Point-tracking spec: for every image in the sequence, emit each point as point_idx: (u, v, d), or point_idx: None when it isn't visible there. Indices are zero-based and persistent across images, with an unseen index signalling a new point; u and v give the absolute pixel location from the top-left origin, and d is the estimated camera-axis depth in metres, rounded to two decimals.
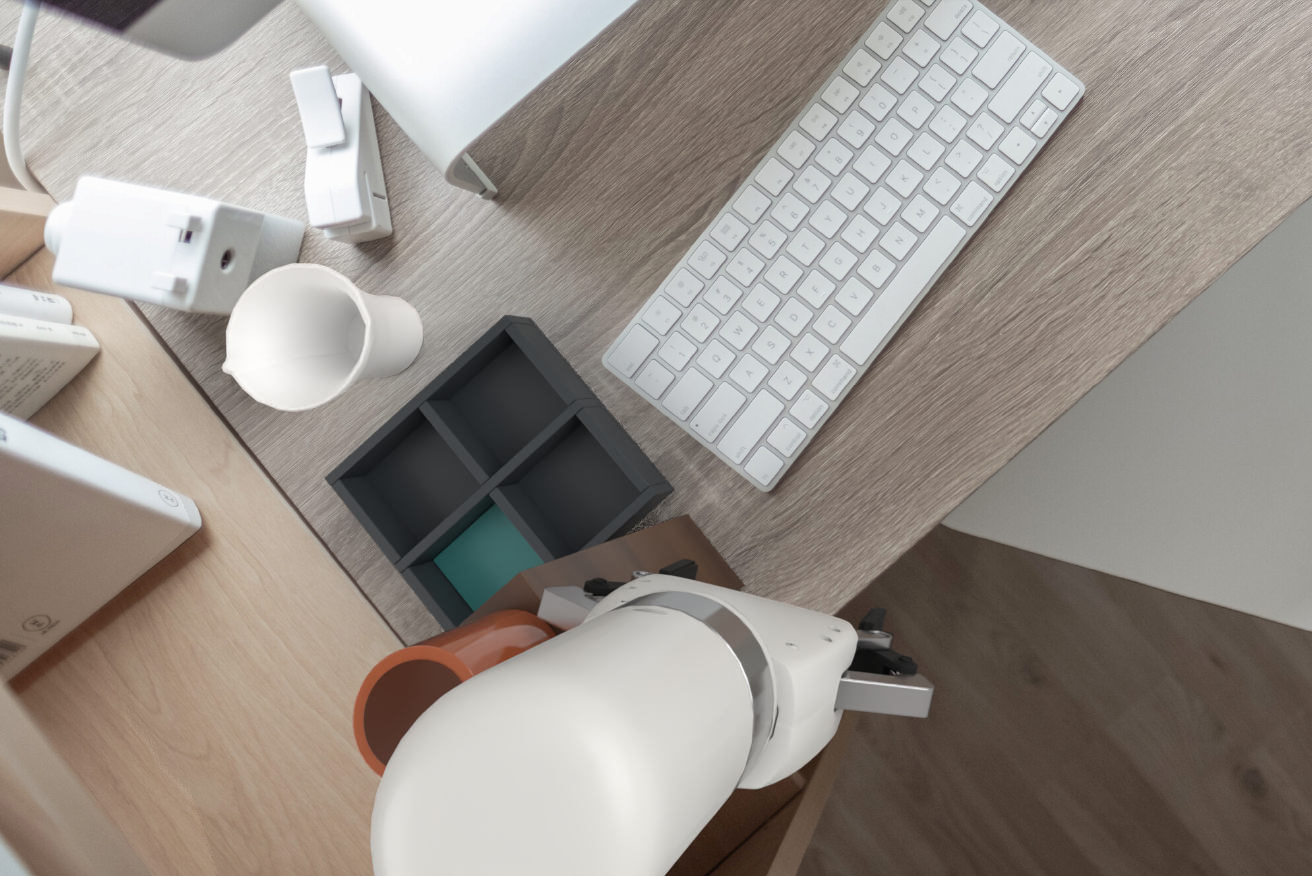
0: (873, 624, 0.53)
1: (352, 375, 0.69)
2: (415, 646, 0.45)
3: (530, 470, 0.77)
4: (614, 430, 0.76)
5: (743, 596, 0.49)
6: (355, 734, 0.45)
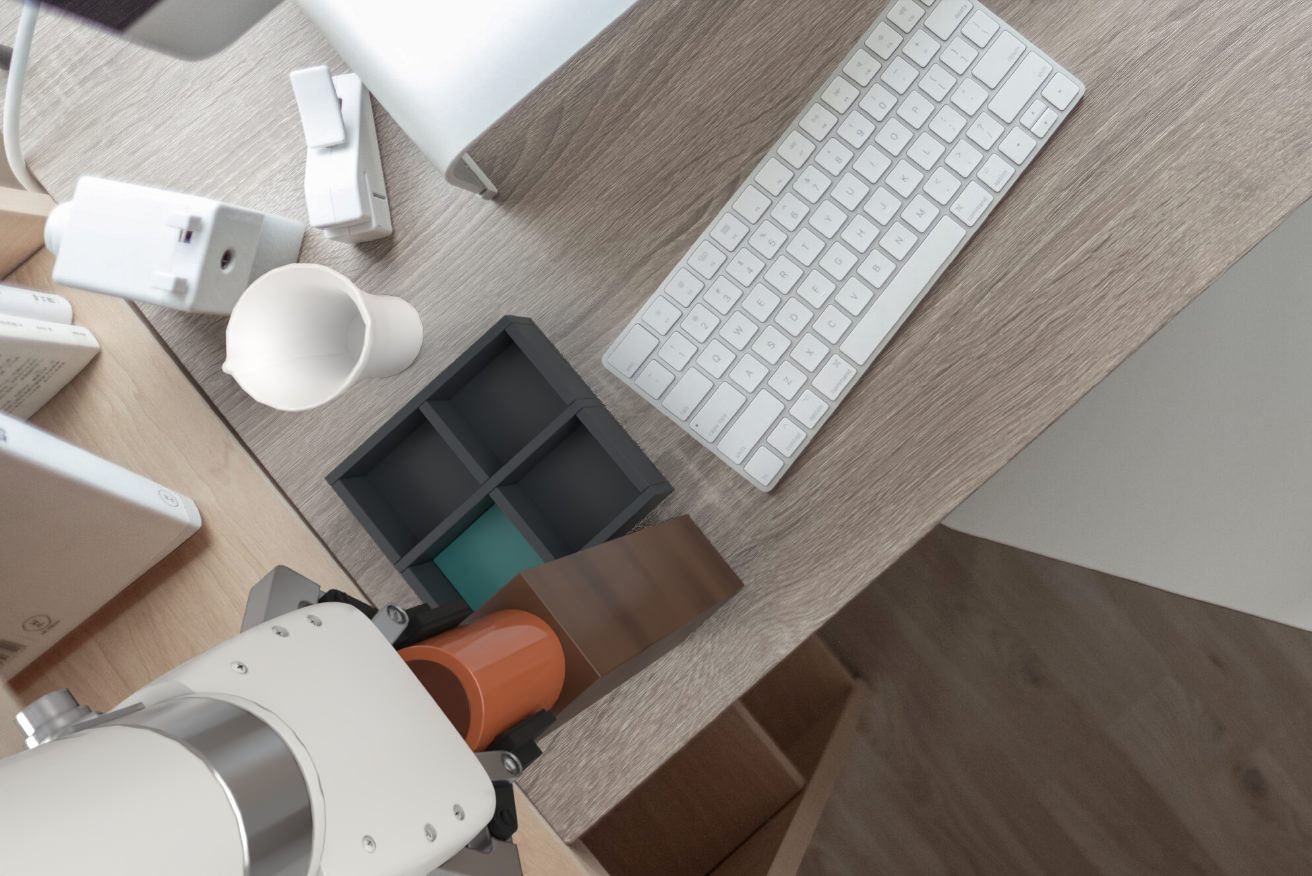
0: (515, 745, 0.46)
1: (352, 375, 0.69)
2: (415, 646, 0.45)
3: (530, 470, 0.77)
4: (614, 430, 0.76)
5: (401, 703, 0.41)
6: None
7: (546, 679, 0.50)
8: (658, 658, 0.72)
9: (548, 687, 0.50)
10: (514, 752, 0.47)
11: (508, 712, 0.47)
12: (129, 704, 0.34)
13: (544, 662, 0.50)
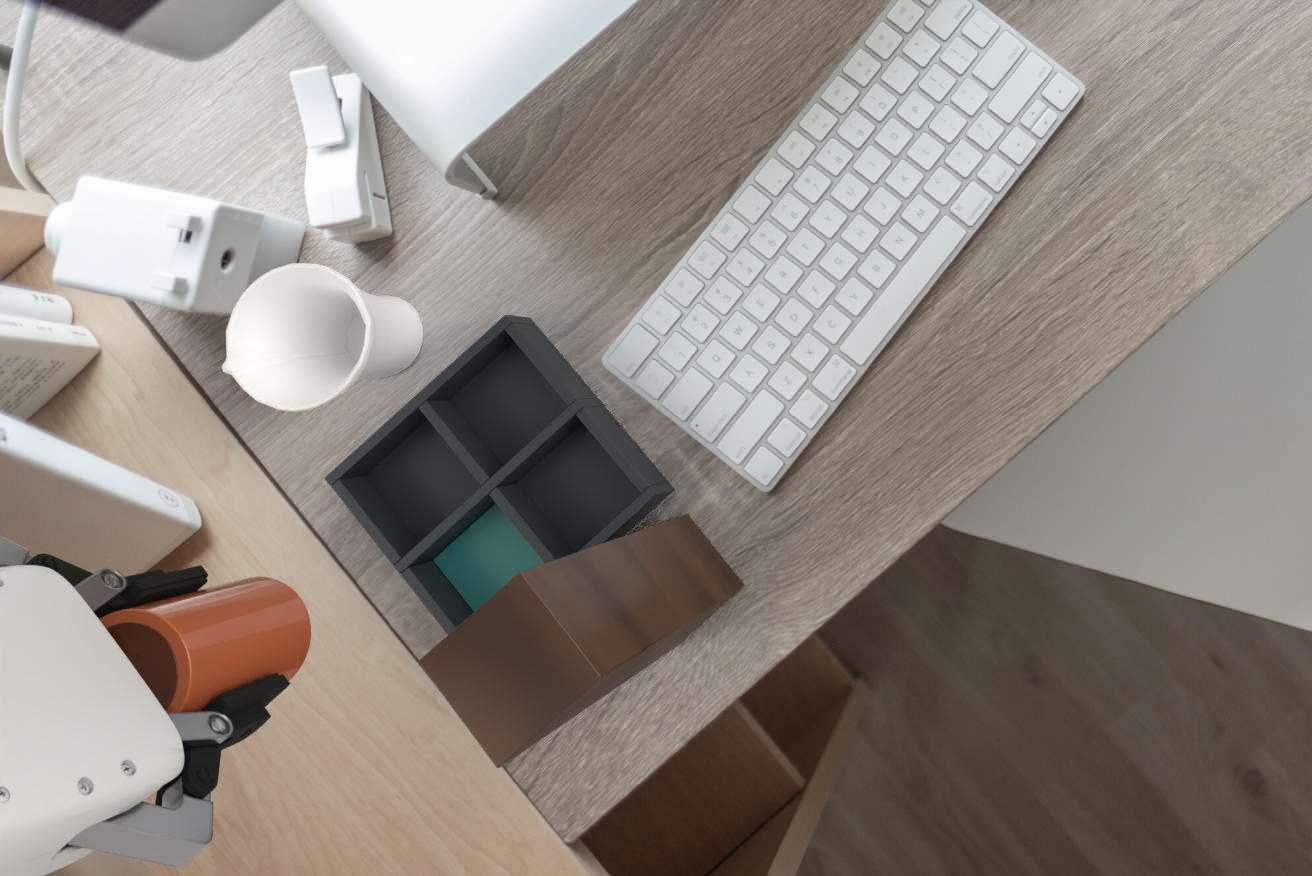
0: (228, 707, 0.47)
1: (352, 375, 0.69)
2: (126, 609, 0.46)
3: (530, 470, 0.77)
4: (614, 430, 0.76)
5: (82, 663, 0.41)
6: None
7: (283, 645, 0.51)
8: (658, 658, 0.72)
9: (286, 652, 0.51)
10: (233, 714, 0.47)
11: (227, 674, 0.47)
12: None
13: (281, 627, 0.51)
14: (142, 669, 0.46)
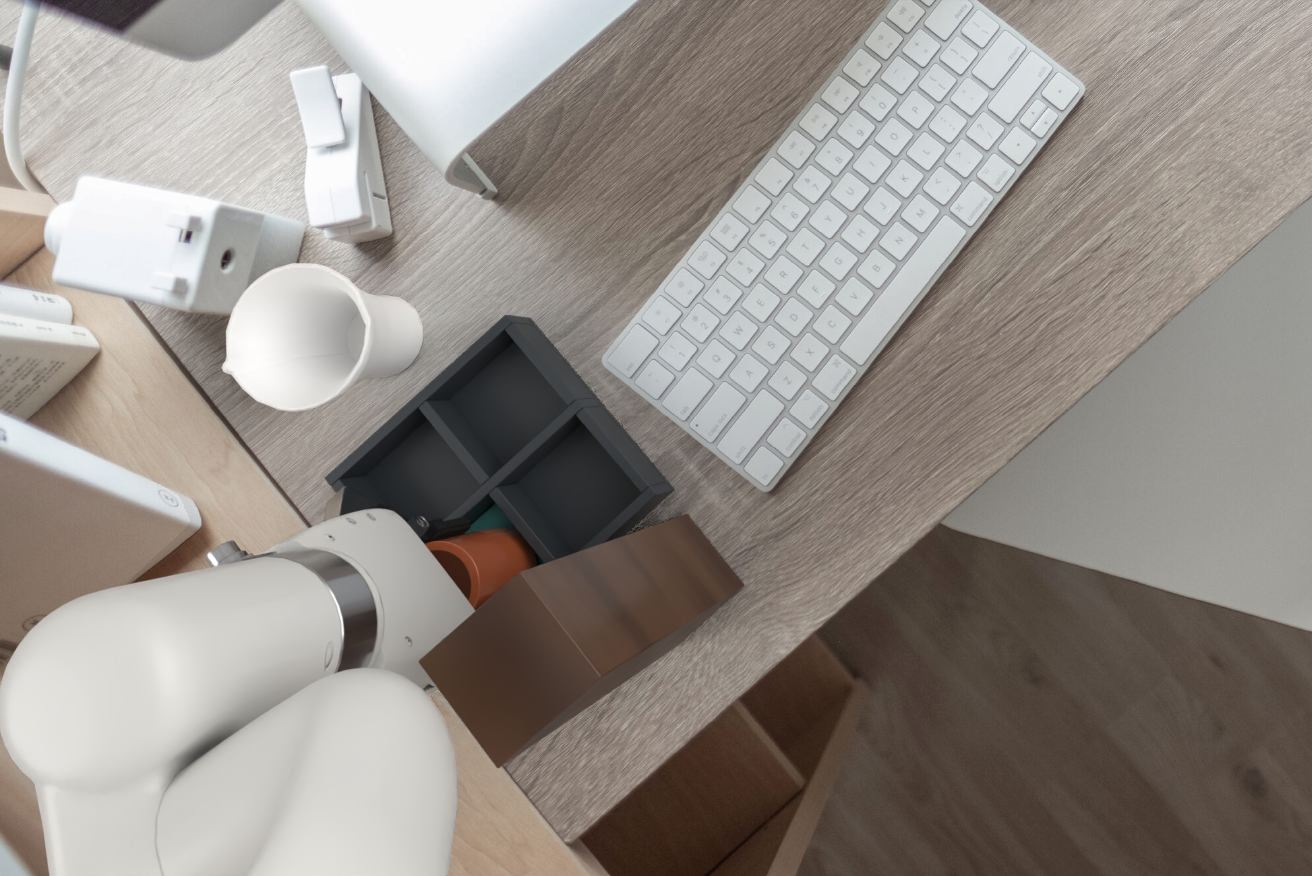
0: None
1: (352, 375, 0.69)
2: (434, 541, 0.68)
3: (530, 470, 0.77)
4: (614, 430, 0.76)
5: (426, 570, 0.64)
6: None
7: None
8: (658, 658, 0.72)
9: None
10: None
11: (496, 587, 0.70)
12: None
13: (522, 560, 0.73)
14: None
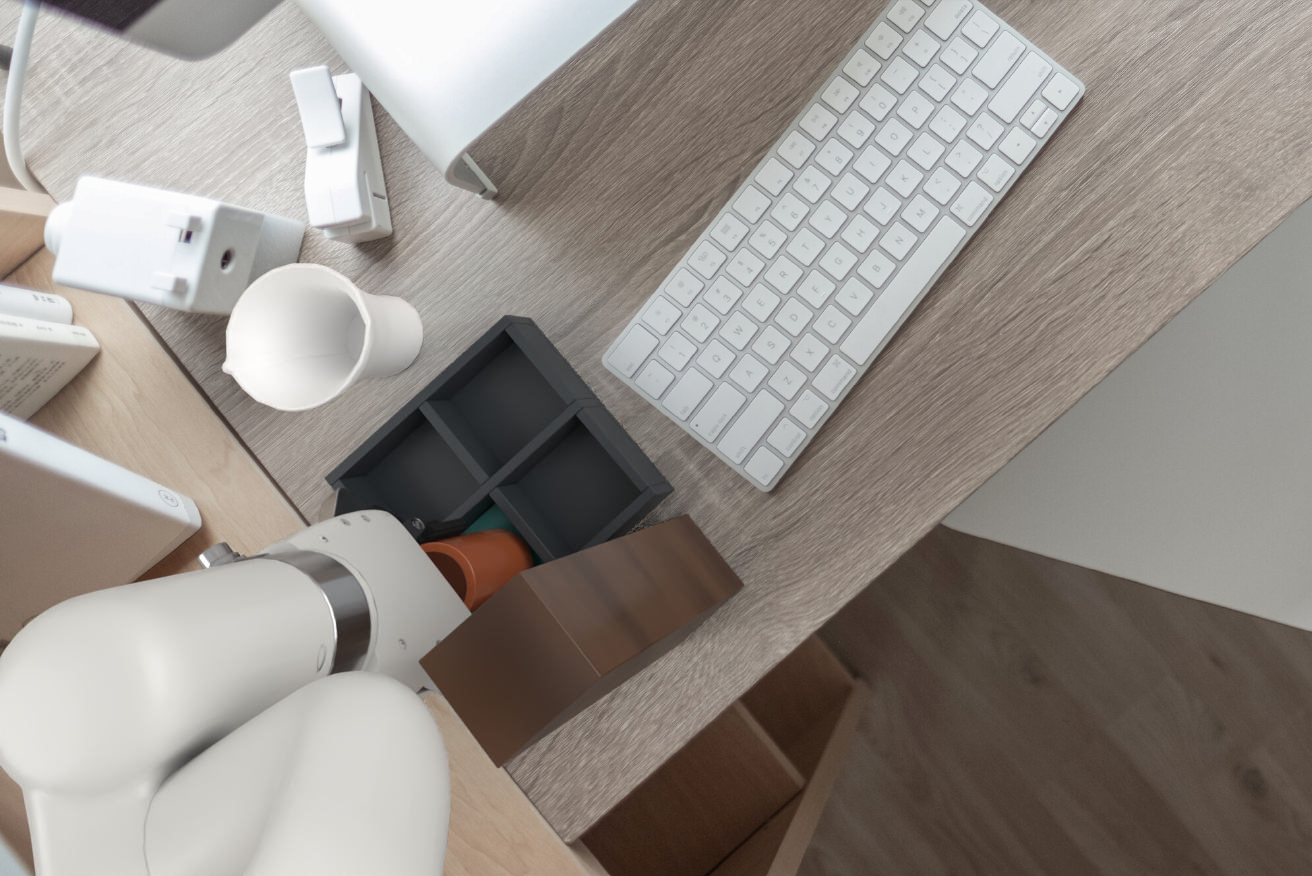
0: None
1: (352, 375, 0.69)
2: (430, 543, 0.68)
3: (530, 470, 0.77)
4: (614, 430, 0.76)
5: (421, 572, 0.63)
6: None
7: None
8: (658, 658, 0.72)
9: None
10: None
11: (492, 589, 0.69)
12: None
13: (518, 561, 0.73)
14: None
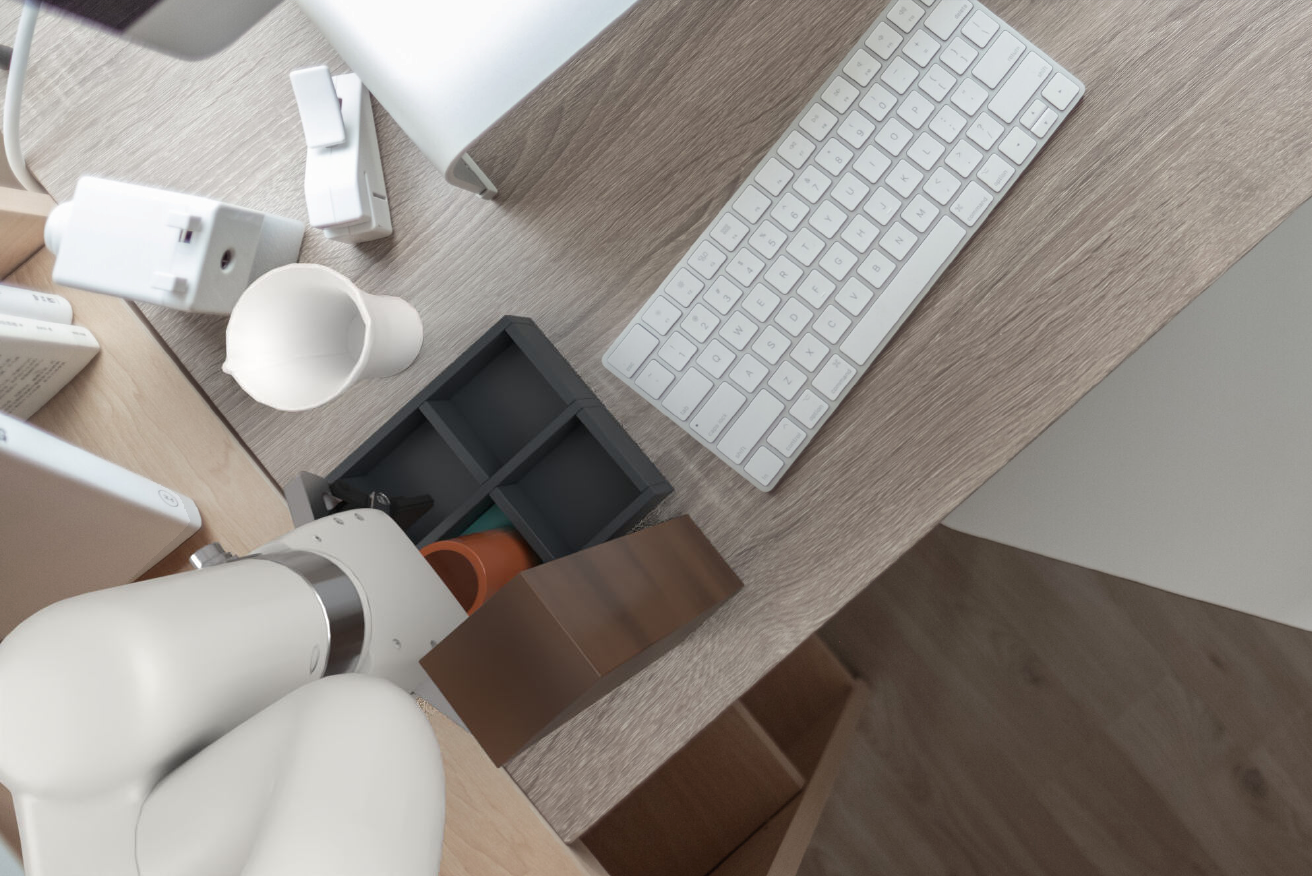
0: None
1: (352, 375, 0.69)
2: (441, 541, 0.69)
3: (530, 470, 0.77)
4: (614, 430, 0.76)
5: (415, 571, 0.63)
6: None
7: None
8: (658, 658, 0.72)
9: None
10: None
11: None
12: None
13: (527, 559, 0.74)
14: (453, 581, 0.68)
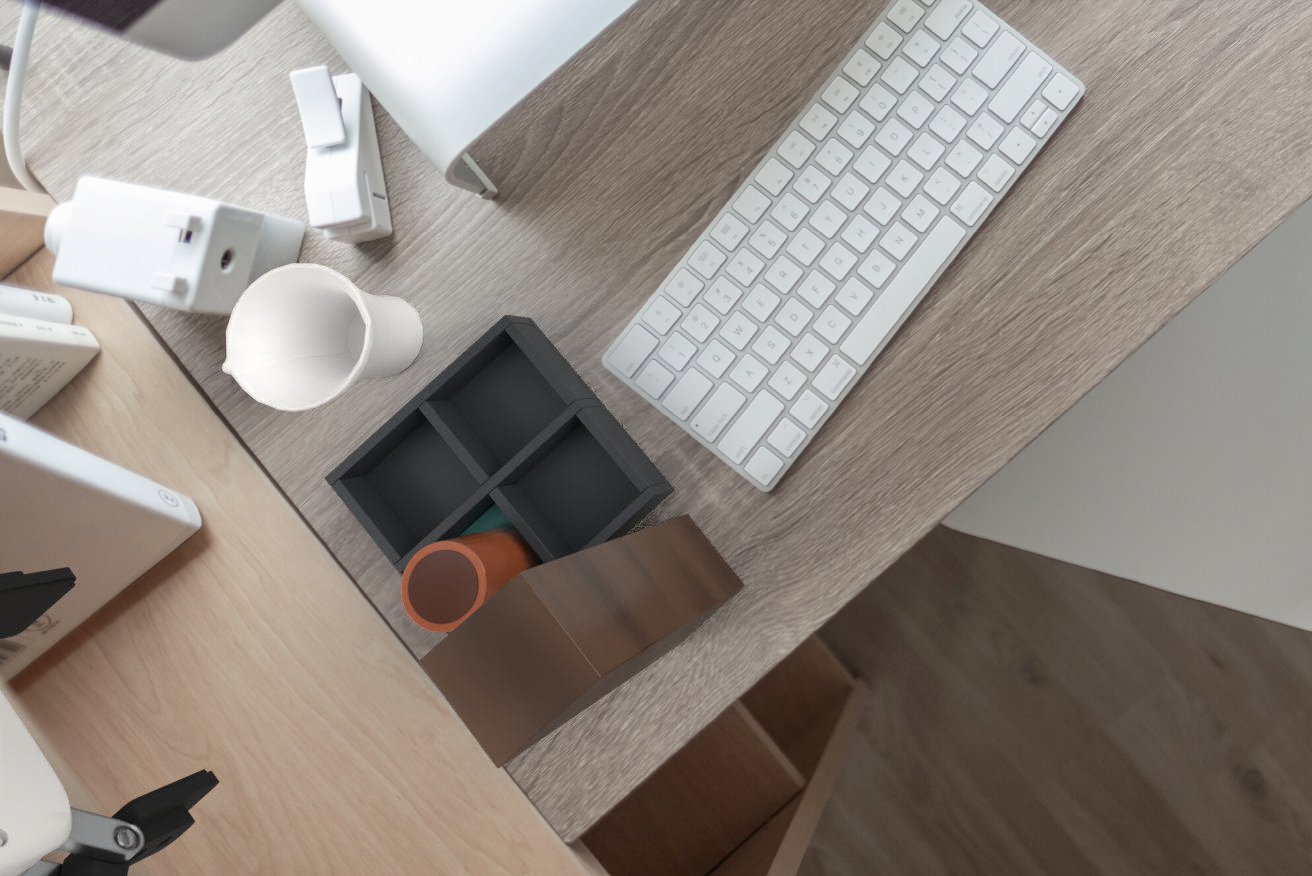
0: (139, 815, 0.40)
1: (352, 375, 0.69)
2: (441, 541, 0.69)
3: (530, 470, 0.77)
4: (614, 430, 0.76)
5: None
6: (402, 598, 0.69)
7: None
8: (658, 658, 0.72)
9: None
10: (147, 822, 0.41)
11: None
12: None
13: (527, 559, 0.74)
14: (453, 581, 0.68)
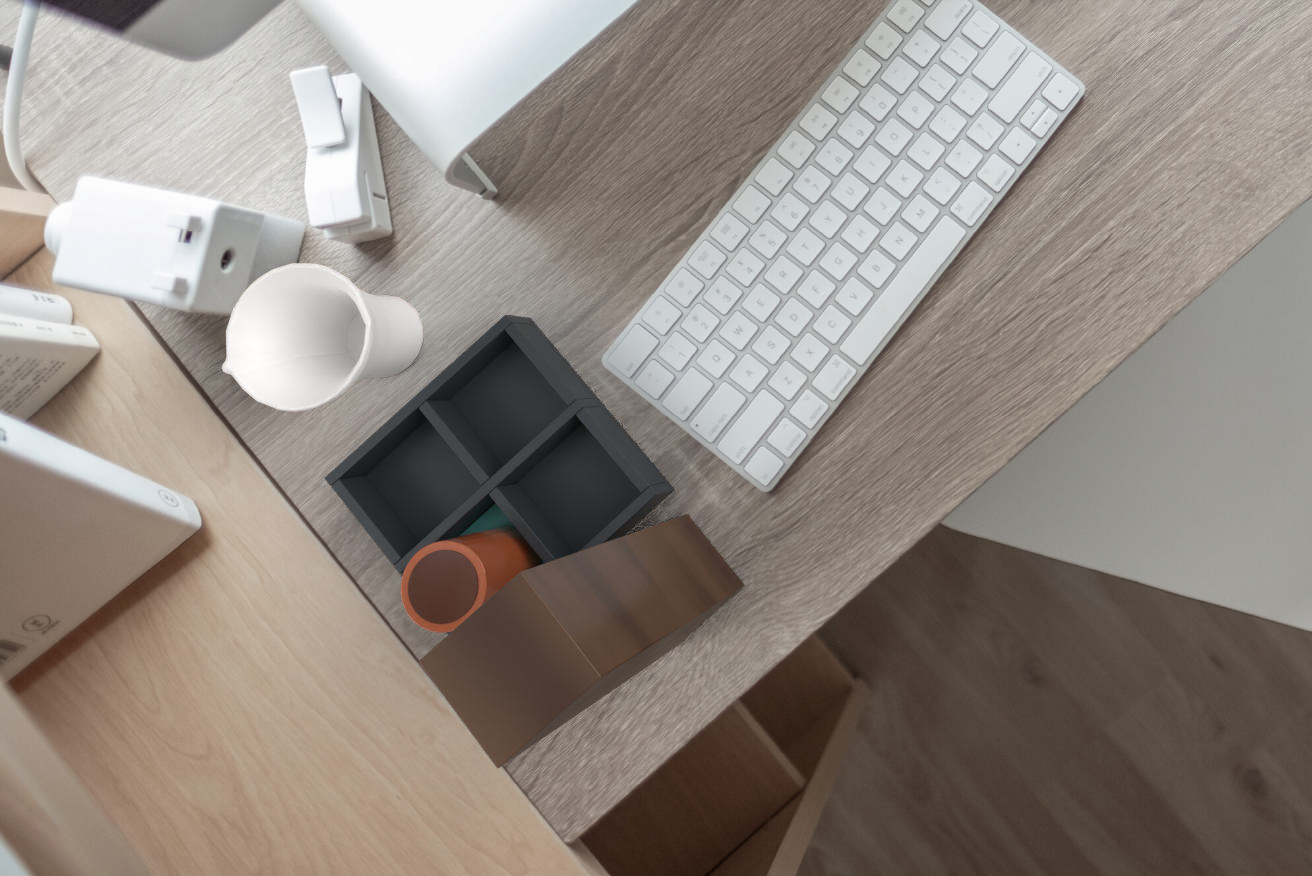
0: None
1: (352, 375, 0.69)
2: (441, 541, 0.69)
3: (530, 470, 0.77)
4: (614, 430, 0.76)
5: None
6: (402, 598, 0.69)
7: None
8: (658, 658, 0.72)
9: None
10: None
11: None
12: None
13: (527, 559, 0.74)
14: (453, 581, 0.68)
